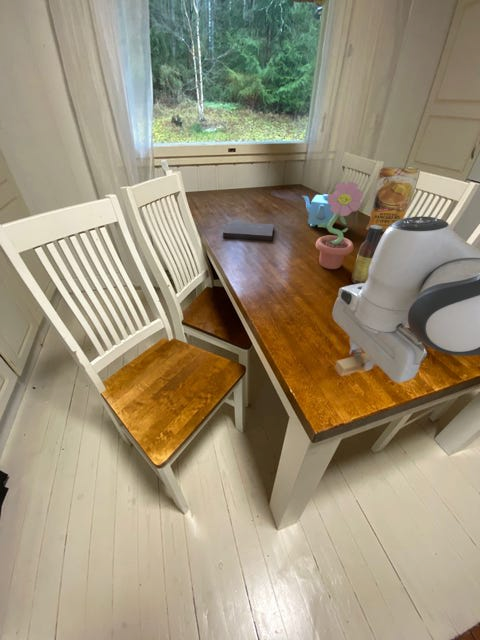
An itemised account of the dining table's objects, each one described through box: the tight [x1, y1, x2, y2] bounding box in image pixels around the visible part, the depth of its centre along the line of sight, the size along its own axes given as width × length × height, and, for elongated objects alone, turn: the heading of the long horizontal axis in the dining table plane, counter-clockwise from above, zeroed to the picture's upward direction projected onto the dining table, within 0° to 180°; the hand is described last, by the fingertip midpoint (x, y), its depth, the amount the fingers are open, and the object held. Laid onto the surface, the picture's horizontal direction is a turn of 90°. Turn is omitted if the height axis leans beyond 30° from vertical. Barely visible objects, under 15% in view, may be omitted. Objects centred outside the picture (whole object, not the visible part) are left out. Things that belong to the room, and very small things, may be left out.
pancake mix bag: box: [365, 167, 421, 233], centre depth 130 cm, size 7×19×28 cm, turn 85°
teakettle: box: [301, 193, 334, 229], centre depth 140 cm, size 19×19×15 cm
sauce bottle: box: [351, 225, 383, 284], centre depth 92 cm, size 7×6×20 cm
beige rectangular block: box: [334, 352, 379, 377], centre depth 58 cm, size 10×2×2 cm, turn 109°
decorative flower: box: [315, 181, 363, 270], centre depth 99 cm, size 15×14×30 cm
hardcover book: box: [222, 221, 275, 241], centre depth 133 cm, size 16×23×2 cm
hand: (359, 361), depth 58 cm, fingers closed on beige rectangular block, 2 cm apart
